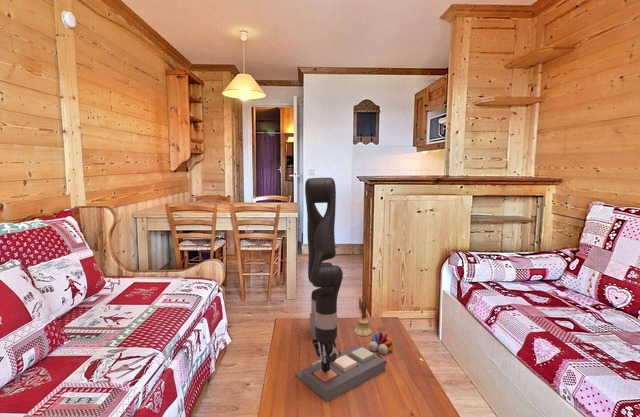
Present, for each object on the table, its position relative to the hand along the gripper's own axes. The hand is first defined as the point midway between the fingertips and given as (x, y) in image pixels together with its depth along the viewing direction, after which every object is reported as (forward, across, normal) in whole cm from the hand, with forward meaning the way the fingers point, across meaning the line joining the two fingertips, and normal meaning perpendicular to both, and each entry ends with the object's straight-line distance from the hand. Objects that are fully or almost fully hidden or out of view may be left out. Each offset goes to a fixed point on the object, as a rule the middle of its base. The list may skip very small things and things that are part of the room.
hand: (325, 371), depth 119 cm
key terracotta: (+3, 0, 0) cm, 3 cm away
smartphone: (+6, -1, +21) cm, 22 cm away
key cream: (+2, 0, +9) cm, 9 cm away
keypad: (+5, -2, +9) cm, 10 cm away
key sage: (+2, 0, +18) cm, 18 cm away
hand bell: (+6, -19, +38) cm, 43 cm away
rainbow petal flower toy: (+6, -4, +33) cm, 34 cm away
